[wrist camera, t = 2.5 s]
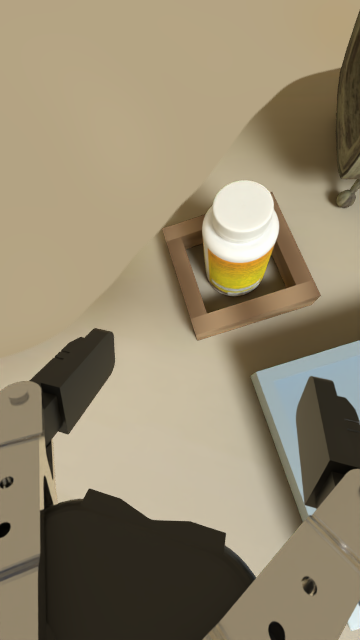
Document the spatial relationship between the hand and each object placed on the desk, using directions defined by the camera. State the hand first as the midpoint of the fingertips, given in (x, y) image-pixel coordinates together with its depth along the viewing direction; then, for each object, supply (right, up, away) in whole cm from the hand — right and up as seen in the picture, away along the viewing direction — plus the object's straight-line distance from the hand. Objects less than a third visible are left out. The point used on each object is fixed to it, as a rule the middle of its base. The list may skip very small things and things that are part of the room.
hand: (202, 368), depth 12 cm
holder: (+4, +7, +17) cm, 19 cm away
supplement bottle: (+4, +7, +17) cm, 19 cm away
